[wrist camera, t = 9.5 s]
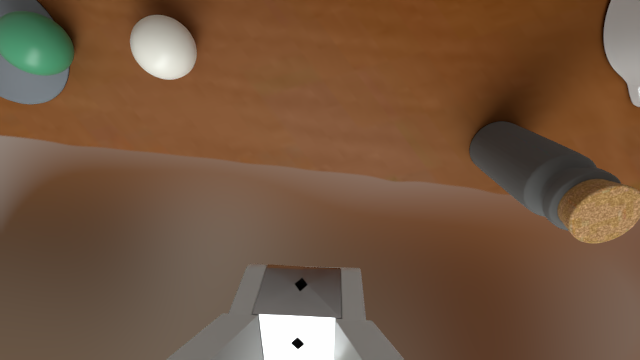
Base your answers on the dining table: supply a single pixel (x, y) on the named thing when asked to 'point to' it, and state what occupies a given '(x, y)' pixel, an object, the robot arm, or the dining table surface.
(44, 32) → the green ball
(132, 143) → the dining table surface
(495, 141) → the bottle
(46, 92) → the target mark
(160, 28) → the cue ball
